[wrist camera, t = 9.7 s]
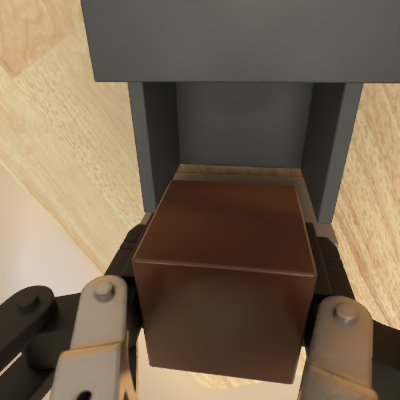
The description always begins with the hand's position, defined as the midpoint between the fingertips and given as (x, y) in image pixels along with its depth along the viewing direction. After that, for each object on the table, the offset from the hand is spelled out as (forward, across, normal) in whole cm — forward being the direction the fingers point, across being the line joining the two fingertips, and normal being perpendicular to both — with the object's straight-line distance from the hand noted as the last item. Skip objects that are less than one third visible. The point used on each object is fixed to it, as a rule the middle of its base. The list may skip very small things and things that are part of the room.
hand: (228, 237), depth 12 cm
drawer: (+14, 0, +1) cm, 14 cm away
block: (0, 0, 0) cm, 0 cm away
